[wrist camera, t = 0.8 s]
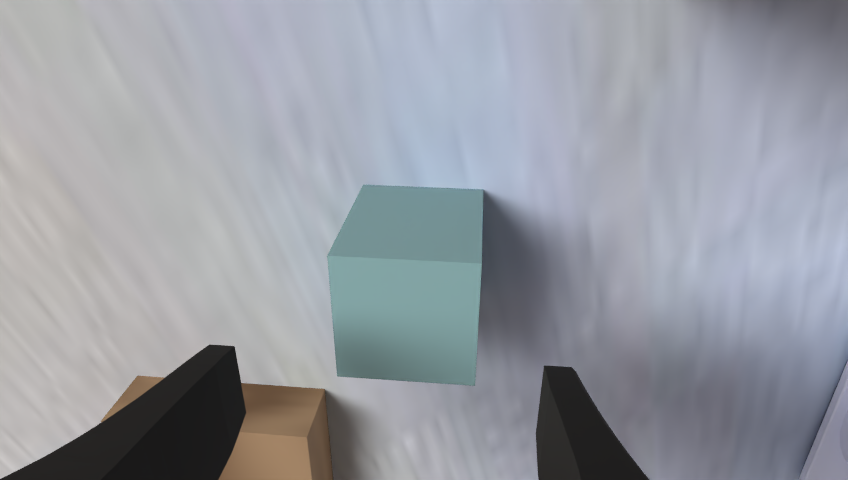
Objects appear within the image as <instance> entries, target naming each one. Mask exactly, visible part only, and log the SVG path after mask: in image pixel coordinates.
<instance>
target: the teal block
mask: <svg viewBox="0 0 848 480" xmlns="http://www.w3.org/2000/svg"><path fill="white" fill-rule="evenodd" d="M482 228H483V190H480V189H455V188H430V187H406V186H381V185H363V187H362V188H361V190H360V192H359V194H358V196H357V198H356V200H355V202H354V204H353V206H352V208H351V210H350V212H349V214H348V216H347V218H346V220H345V222H344V224H343V226H342V228H341V230H340V232H339V234H338V236H337V238H336V240H335V242H334V244H333V246H332V248H331V250H330V252H329V254H328V255H327V258H328V270H329V282H330V294H331V307H332V319H333V331H334V343H335V355H336V368H337V376H340V377H355V378H369V379H384V380H398V381H413V382H428V383H442V384H457V385H472V386H475V377H476V359H477V341H478V323H479V305H480V287H481V269H482Z"/></svg>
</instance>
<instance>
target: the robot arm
mask: <svg viewBox="0 0 848 480" xmlns="http://www.w3.org/2000/svg"><path fill="white" fill-rule="evenodd" d="M245 415H246V408H245V402H244V397H243V391H242V386H241V380H240V374H239V369H238V363H237V358H236V352H235V347H234V346H222V345H209V346H207V347H206V348H204V349H203V350H201V351H200V352H199V353H197V354H196V355H194V356H193V357H192V358H190V359H189V360H188V361H186V362H185V363H184V364H182V365H181V366H180V367H179V368H177V369H176V370H175V371H173V372H172V373H171V374H169V375H168V376H167V377H165V378H164V379H163V380H161V381H160V382H159V383H157V384H156V385H154V386H153V387H152V388H150V389H149V390H148V391H146V392H145V393H144V394H142V395H141V396H140V397H138V398H137V399H135V400H134V401H132V402H131V403H129V404H128V405H127V406H125V407H124V408H122V409H121V410H119V411H118V412H116V413H115V414H113V415H112V416H110V417H109V418H107V419H106V420H104V421H103V422H102V423H100V424H99V425H97V426H96V427H94V428H92V429H91V430H89V431H88V432H86V433H84V434H83V435H81V436H80V437H78V438H76V439H75V440H73V441H71V442H69V443H68V444H66V445H64V446H63V447H61V448H59V449H57V450H56V451H54V452H52V453H50V454H49V455H47V456H45V457H43V458H41V459H39V460H37V461H35V462H33V463H31V464H29V465H27V466H25V467H24V468H22V469H20V470H18V471H16V472H14V473H12V474H10V475H8V476H6V477H4V478H2V479H0V480H219V478H220V476H221V474H222V472H223V470H224V468H225V466H226V464H227V462H228V460H229V458H230V456H231V454H232V451H233V449H234V446H235V443H236V441H237V438H238V435H239V432H240V429H241V426H242V424H243V421H244V418H245ZM536 443H537V463H538V477H539V480H649V479H648V478H647V476H646V475H645V474H644V473H643V472H642V470H641V469H640V468H639V466H638V465H637V464H636V463H635V461H634V460H633V459H632V458H631V456H630V455H629V454H628V452H627V451H626V450H625V448H624V447H623V446H622V444H621V443H620V441H619V440H618V439H617V437H616V436H615V434H614V433H613V431H612V430H611V428H610V427H609V426H608V424H607V423H606V421H605V420H604V418H603V417H602V415H601V414H600V412H599V411H598V409H597V407H596V406H595V404H594V402H593V401H592V399H591V398H590V396H589V394H588V393H587V391H586V389H585V387H584V386H583V384H582V382H581V380H580V378H579V377H578V375H577V373H576V371H575V370H574V369H573V368H572V367H558V366H544V371H543V380H542V388H541V396H540V404H539V413H538V421H537V429H536ZM799 480H848V361H847V364H846V366H845V369H844V371H843V373H842V376H841V378H840V381H839V383H838V385H837V388H836V390H835V393H834V395H833V397H832V400H831V402H830V405H829V407H828V410H827V412H826V414H825V417H824V419H823V422H822V424H821V426H820V429H819V431H818V434H817V436H816V438H815V441H814V443H813V446H812V448H811V450H810V453H809V455H808V458H807V460H806V462H805V465H804V467H803V470H802V472H801V474H800V478H799Z"/></svg>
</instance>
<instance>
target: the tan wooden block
mask: <svg viewBox="0 0 848 480" xmlns="http://www.w3.org/2000/svg"><path fill="white" fill-rule="evenodd" d="M163 379H164V378H161V377H147V376H137V377H136V378H135V380H134V381H133V382H132V383H131V385H130V386H129V387H128V388H127V390H126V391H125V392H124V393H123V395H122V396H121V397H120V398H119V399H118V401H117V402H116V403H115V404H114V406H113V407H112V408H111V409H110V411H109V412H108V413H107V414H106V415H105V417H104V418H103V419H102V420H101V422H103V421H104V420H106V419H107V418H109V417H110V416H112V415H113V414H115V413H116V412H118V411H119V410H121V409H122V408H124V407H125V406H127V405H128V404H129V403H131V402H132V401H134V400H135V399H137V398H138V397H140V396H141V395H142V394H144V393H145V392H146V391H148V390H149V389H150V388H152V387H153V386H154V385H156V384H157V383H159V382H160V381H161V380H163ZM241 386H242V391H243V397H244V402H245V408H246V415H245V418H244V421H243V424H242V426H241V429H240V432H239V435H238V438H237V441H236V443H235V446H234V449H233V451H232V454H231V456H230V458H229V460H228V462H227V464H226V466H225V468H224V470H223V472H222V474H221V476H220V478H219V480H333V472H332V461H331V451H330V440H329V429H328V419H327V408H326V398H325V389H315V388H301V387H287V386H273V385H259V384H245V383H241Z"/></svg>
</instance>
